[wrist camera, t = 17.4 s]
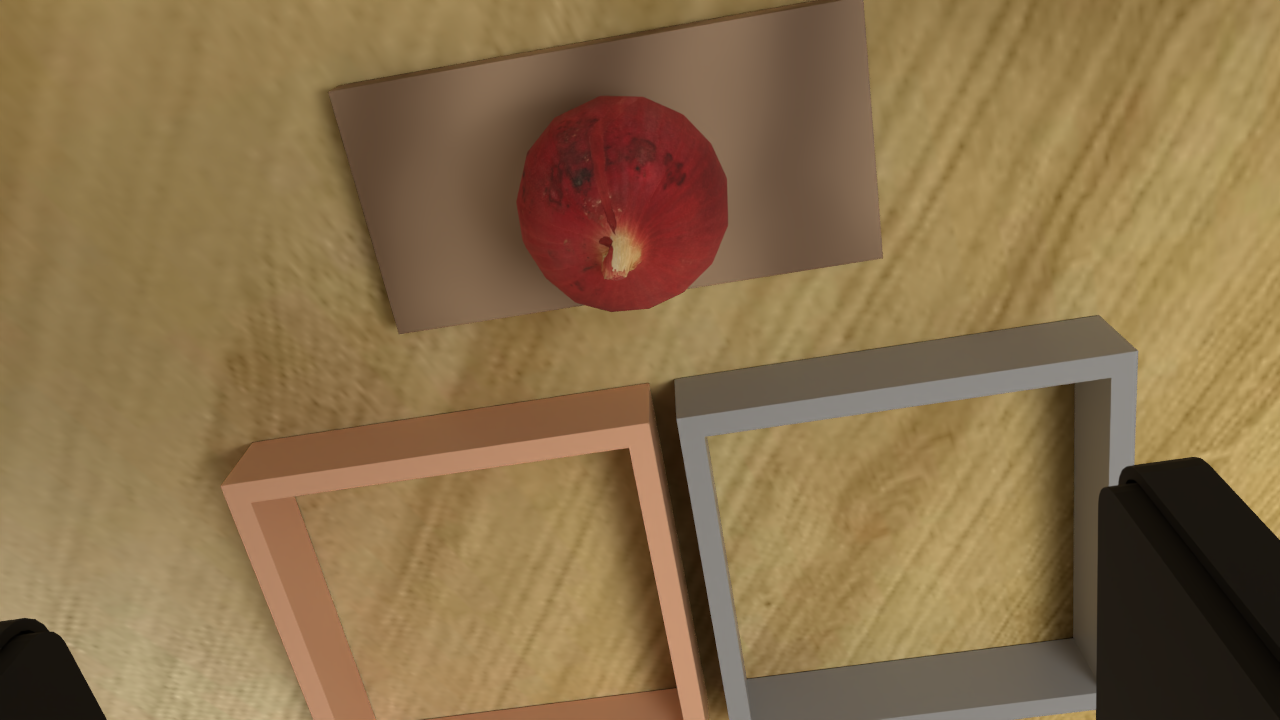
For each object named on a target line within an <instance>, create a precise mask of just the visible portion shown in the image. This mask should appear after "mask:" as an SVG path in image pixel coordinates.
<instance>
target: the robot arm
mask: <svg viewBox="0 0 1280 720" xmlns="http://www.w3.org/2000/svg"><path fill="white" fill-rule="evenodd" d="M0 720H107V719H106V717H105V715H104V714H103V712H102V710H101V708H100V706H99V704H98V702H97V701H96V699H95V697H94V695H93V693H92V691H91V689H90V688H89V686H88V684H87V682H86V680H85V678H84V676H83V675H82V673H81V671H80V669H79V667H78V665H77V663H76V662H75V660H74V658H73V656H72V654H71V652H70V650H69V649H68V647H67V645H66V643H65V642H64V640H63V639H62V638H61V636H59V635H58V634H56V633H54V632H49V631H48V629H47V628H46V627H45V625H43V624H42V623H40V622H39V621H37V620H35V619H28V618H22V619H15V620H8V621H1V622H0ZM1096 720H1280V540H1279V539H1278V538H1277V537H1276V536H1275V535H1274V534H1273V532H1272V531H1271V530H1270V529H1269V528H1268V527H1267V526H1266V525H1265V524H1264V523H1263V522H1262V521H1261V520H1260V519H1259V517H1258V516H1257V515H1256V514H1255V513H1254V512H1253V511H1252V510H1251V509H1250V508H1249V507H1248V506H1247V505H1246V504H1245V502H1244V501H1243V500H1242V499H1241V498H1240V497H1239V496H1238V495H1237V494H1236V493H1235V492H1234V491H1233V490H1232V489H1231V488H1230V486H1229V485H1228V484H1227V483H1226V482H1225V481H1224V480H1223V479H1222V478H1221V477H1220V476H1219V475H1218V474H1217V473H1216V471H1215V470H1214V469H1213V468H1212V467H1211V466H1210V465H1209V464H1208V463H1206V462H1205V461H1204V460H1203V459H1201V458H1197V457H1190V458H1183V459H1175V460H1168V461H1161V462H1154V463H1146V464H1139V465H1132V466H1126V467H1125V468H1124V469H1122V471H1121V474H1120V476H1119V481H1118V485H1116V486H1108V487H1104V488H1102V489H1101V491H1100V494H1099V500H1098V564H1097V669H1096Z"/></svg>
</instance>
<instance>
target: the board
mask: <svg viewBox="0 0 1280 720" xmlns="http://www.w3.org/2000/svg"><path fill="white" fill-rule="evenodd" d="M328 93H329V97H330V100H331V103H332V107H333V110H334V114H335V117H336V120H337V124H338V127H339V131H340V134H341V138H342V141H343V144H344V148H345V151H346V155H347V158H348V162H349V165H350V168H351V172H352V175H353V179H354V182H355V185H356V189H357V192H358V196H359V199H360V203H361V206H362V209H363V213H364V216H365V220H366V223H367V227H368V230H369V233H370V237H371V240H372V244H373V247H374V250H375V254H376V257H377V261H378V264H379V268H380V271H381V274H382V278H383V281H384V285H385V288H386V292H387V295H388V298H389V302H390V305H391V309H392V312H393V315H394V319H395V322H396V326H397V329H398V333H399V334H404V333H410V332H417V331H423V330H429V329H436V328H442V327H448V326H455V325H461V324H468V323H474V322H480V321H487V320H493V319H499V318H506V317H512V316H518V315H525V314H531V313H538V312H544V311H550V310H557V309H563V308H569V307H576V306H582V305H583V304H579V303H575V302H574V301H573V300H572V299H570V298H569V297H568V296H567V295H566V294H564V293H563V292H562V291H561V290H560V289H558V288H557V287H556V286H555V285H553V284H552V283H551V282H550V281H549V280H547V279H546V278H545V276H544V275H543V273H542V272H541V270H540V269H539V267H538V265H537V264H536V262H535V261H534V259H533V258H532V256H531V254H530V253H529V251H528V250H527V248H526V247H525V244H524V242H523V240H522V234H521V228H520V222H519V216H518V210H517V204H516V201H517V196H518V192H519V187H520V183H521V178H522V174H523V169H524V164H525V160H526V155H527V152H528V151H529V149H530V148H531V147H532V146H533V144H534V143H535V142H536V141H537V139H538V138H539V137H540V135H541V134H542V133H543V132H544V130H545V129H546V128H547V127H548V125H549V124H550V123H551V122H552V120H553V119H554V118H555V117H557V116H559V115H561V114H563V113H565V112H567V111H569V110H571V109H574V108H576V107H578V106H580V105H582V104H584V103H586V102H588V101H590V100H592V99H594V98H597V97H599V96H636V97H645V98H647V99H650V100H652V101H654V102H656V103H659V104H661V105H663V106H666V107H668V108H670V109H672V110H675V111H677V112H679V113H681V114H683V115H684V116H685V117H686V118H687V119H688V120H689V121H690V122H691V123H692V124H693V125H694V126H695V127H696V128H697V129H698V130H699V131H700V132H701V133H702V134H703V135H704V137H705V138H706V139H707V140H708V141H709V142H710V143H711V144H712V147H713V149H714V151H715V153H716V155H717V157H718V160H719V162H720V164H721V166H722V168H723V170H724V173H725V175H726V177H727V195H728V227H727V229H726V232H725V234H724V237H723V239H722V241H721V244H720V246H719V249H718V251H717V254H716V256H715V258H714V261H713V263H712V264H711V265H710V266H709V267H708V268H707V269H706V270H705V271H704V272H703V273H702V274H701V275H700V276H699V277H698V278H697V279H696V280H695V281H694V282H693V283H692V284H691V285H690V286H689V287H688V288H687V289H690V288H697V287H703V286H709V285H716V284H722V283H728V282H735V281H741V280H748V279H754V278H760V277H767V276H773V275H779V274H786V273H792V272H798V271H805V270H811V269H818V268H824V267H830V266H837V265H843V264H849V263H856V262H862V261H868V260H875V259H881V258H883V252H882V239H881V226H880V213H879V200H878V186H877V173H876V160H875V147H874V134H873V121H872V107H871V94H870V81H869V68H868V55H867V42H866V28H865V15H864V2H863V0H815V1H810V2H804V3H799V4H793V5H787V6H782V7H776V8H770V9H765V10H759V11H754V12H748V13H742V14H737V15H731V16H726V17H720V18H714V19H709V20H703V21H697V22H692V23H686V24H681V25H675V26H669V27H664V28H658V29H653V30H647V31H641V32H636V33H630V34H624V35H619V36H613V37H608V38H602V39H596V40H591V41H585V42H580V43H574V44H568V45H563V46H557V47H551V48H546V49H540V50H535V51H529V52H523V53H518V54H512V55H507V56H501V57H495V58H490V59H484V60H478V61H473V62H467V63H462V64H456V65H450V66H445V67H439V68H434V69H428V70H422V71H417V72H411V73H405V74H400V75H394V76H389V77H383V78H377V79H372V80H366V81H361V82H355V83H349V84H344V85H339V86H337V87H336V88H334V89H332V90H330V91H329V92H328Z"/></svg>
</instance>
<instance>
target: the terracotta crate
mask: <svg viewBox="0 0 1280 720" xmlns="http://www.w3.org/2000/svg"><path fill="white" fill-rule="evenodd" d="M624 448H629V450H630V455H631V460H632V465H633V470H634V475H635V480H636V485H637V490H638V495H639V500H640V505H641V510H642V515H643V520H644V525H645V530H646V535H647V540H648V545H649V550H650V555H651V560H652V565H653V570H654V575H655V580H656V585H657V590H658V595H659V600H660V605H661V610H662V615H663V620H664V625H665V630H666V635H667V640H668V645H669V650H670V655H671V660H672V665H673V670H674V675H675V680H676V685H677V688H673V689H665V690H657V691H649V692H641V693H633V694H625V695H617V696H609V697H601V698H593V699H586V700H578V701H570V702H562V703H554V704H546V705H538V706H530V707H522V708H514V709H506V710H498V711H490V712H482V713H474V714H466V715H458V716H450V717H442V718H435V719H427V720H709V708H708V697H707V692H706V687H705V681H704V676H703V670H702V665H701V660H700V654H699V649H698V643H697V638H696V633H695V627H694V622H693V617H692V611H691V606H690V600H689V595H688V590H687V584H686V579H685V573H684V568H683V563H682V557H681V552H680V547H679V541H678V536H677V530H676V525H675V520H674V514H673V509H672V503H671V498H670V493H669V487H668V482H667V477H666V471H665V466H664V460H663V455H662V450H661V444H660V439H659V434H658V428H657V423H656V417H655V412H654V407H653V401H652V396H651V390H650V385H649V383H645V384H639V385H632V386H626V387H619V388H612V389H606V390H599V391H592V392H586V393H579V394H572V395H566V396H559V397H552V398H546V399H539V400H532V401H526V402H519V403H512V404H506V405H499V406H492V407H486V408H479V409H472V410H466V411H459V412H452V413H446V414H439V415H432V416H426V417H419V418H412V419H406V420H399V421H393V422H386V423H379V424H373V425H366V426H359V427H353V428H346V429H339V430H333V431H326V432H319V433H313V434H306V435H299V436H293V437H286V438H279V439H273V440H266V441H259V442H253V443H252V444H251V445H250V447H249V448H248V449H247V451H246V452H245V453H244V455H243V456H242V457H241V459H240V460H239V461H238V463H237V464H236V466H235V467H234V468H233V470H232V471H231V472H230V474H229V475H228V476H227V478H226V479H225V480H224V482H223V483H222V484H221V489H222V491H223V494H224V496H225V499H226V501H227V504H228V506H229V509H230V511H231V514H232V516H233V519H234V522H235V524H236V527H237V529H238V532H239V534H240V537H241V539H242V542H243V544H244V547H245V549H246V552H247V554H248V557H249V559H250V562H251V564H252V567H253V569H254V572H255V574H256V577H257V579H258V582H259V584H260V587H261V589H262V592H263V594H264V597H265V599H266V602H267V604H268V607H269V609H270V612H271V614H272V617H273V620H274V622H275V625H276V627H277V630H278V632H279V635H280V637H281V640H282V642H283V645H284V647H285V650H286V652H287V655H288V657H289V660H290V662H291V665H292V667H293V670H294V672H295V675H296V677H297V680H298V682H299V685H300V687H301V690H302V692H303V695H304V697H305V700H306V702H307V705H308V707H309V710H310V713H311V715H312V718H313V720H376V719H375V716H374V713H373V710H372V708H371V705H370V702H369V700H368V697H367V694H366V691H365V689H364V686H363V683H362V680H361V678H360V675H359V672H358V669H357V667H356V664H355V661H354V658H353V656H352V653H351V650H350V647H349V645H348V642H347V639H346V636H345V634H344V631H343V628H342V625H341V623H340V620H339V617H338V615H337V612H336V609H335V606H334V604H333V601H332V598H331V595H330V593H329V590H328V587H327V584H326V582H325V579H324V576H323V573H322V571H321V568H320V565H319V562H318V560H317V557H316V554H315V551H314V549H313V546H312V543H311V540H310V538H309V535H308V532H307V529H306V527H305V524H304V521H303V519H302V516H301V513H300V510H299V508H298V505H297V502H296V499H295V497H294V496H300V495H307V494H314V493H321V492H328V491H335V490H342V489H349V488H355V487H362V486H369V485H376V484H383V483H390V482H397V481H404V480H410V479H417V478H424V477H431V476H438V475H445V474H452V473H459V472H466V471H472V470H479V469H486V468H493V467H500V466H507V465H514V464H521V463H527V462H534V461H541V460H548V459H555V458H562V457H569V456H576V455H583V454H589V453H596V452H603V451H610V450H617V449H624Z"/></svg>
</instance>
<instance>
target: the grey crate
mask: <svg viewBox="0 0 1280 720" xmlns="http://www.w3.org/2000/svg"><path fill="white" fill-rule="evenodd" d="M1137 369H1138V350H1136V349H1135V348H1134V347H1133V346H1132V345H1131V344H1130V343H1129V342H1128V341H1127V340H1126V339H1124V338H1123V337H1122V336H1121V335H1120V334H1119V333H1118V332H1117V331H1116V330H1115V329H1114V328H1112V327H1111V326H1110V325H1109V324H1108V323H1107V322H1106V321H1105V320H1104V319H1103V318H1102V317H1100V316H1099V315H1098V316H1092V317H1085V318H1078V319H1072V320H1065V321H1058V322H1052V323H1045V324H1038V325H1032V326H1025V327H1018V328H1012V329H1005V330H998V331H992V332H985V333H978V334H972V335H965V336H958V337H952V338H945V339H938V340H932V341H925V342H918V343H912V344H905V345H898V346H892V347H885V348H879V349H872V350H865V351H859V352H852V353H845V354H839V355H832V356H825V357H819V358H812V359H805V360H799V361H792V362H785V363H779V364H772V365H765V366H759V367H752V368H745V369H739V370H732V371H725V372H719V373H712V374H705V375H699V376H692V377H685V378H679V379H674V381H675V401H676V420H677V425H678V431H679V437H680V442H681V448H682V454H683V459H684V465H685V471H686V476H687V482H688V488H689V493H690V499H691V505H692V510H693V516H694V522H695V527H696V533H697V539H698V544H699V550H700V556H701V561H702V567H703V573H704V578H705V584H706V590H707V595H708V601H709V607H710V613H711V618H712V624H713V630H714V635H715V641H716V647H717V652H718V658H719V664H720V669H721V675H722V681H723V686H724V692H725V698H726V703H727V709H728V715H729V720H1013V719H1022V718H1030V717H1038V716H1047V715H1055V714H1063V713H1072V712H1080V711H1088V710H1096V669H1097V564H1098V500H1099V494H1100V491H1101V489H1102V488H1104V487H1108V486H1116V485H1118V481H1119V476H1120V474H1121V471H1122V469H1124V468H1125V467H1126V466H1132V465H1134V456H1135V427H1136V398H1137ZM1071 383H1075V421H1074V576H1073V638H1070V639H1062V640H1054V641H1046V642H1038V643H1031V644H1023V645H1015V646H1007V647H999V648H991V649H983V650H975V651H967V652H959V653H951V654H943V655H935V656H927V657H919V658H911V659H903V660H895V661H888V662H880V663H872V664H864V665H856V666H848V667H840V668H832V669H824V670H816V671H808V672H800V673H792V674H784V675H776V676H768V677H760V678H752V679H746V672H745V666H744V660H743V654H742V648H741V642H740V636H739V630H738V624H737V617H736V611H735V605H734V599H733V593H732V587H731V581H730V575H729V569H728V562H727V556H726V550H725V544H724V538H723V532H722V526H721V520H720V514H719V507H718V501H717V495H716V489H715V483H714V477H713V471H712V465H711V459H710V452H709V446H708V440H707V436H713V435H720V434H727V433H734V432H741V431H748V430H755V429H761V428H768V427H775V426H782V425H789V424H796V423H803V422H810V421H817V420H823V419H830V418H837V417H844V416H851V415H858V414H865V413H872V412H878V411H885V410H892V409H899V408H906V407H913V406H920V405H927V404H933V403H940V402H947V401H954V400H961V399H968V398H975V397H982V396H989V395H995V394H1002V393H1009V392H1016V391H1023V390H1030V389H1037V388H1044V387H1050V386H1057V385H1064V384H1071Z"/></svg>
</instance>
